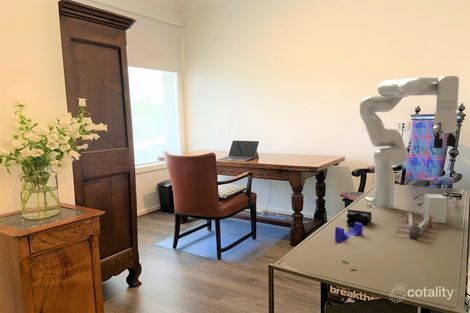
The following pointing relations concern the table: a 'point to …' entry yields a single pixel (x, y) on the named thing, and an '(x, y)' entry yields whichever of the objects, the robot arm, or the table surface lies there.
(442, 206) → the supplement box
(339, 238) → the blue cradle stand
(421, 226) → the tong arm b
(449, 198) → the eyeglasses
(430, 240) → the tong board
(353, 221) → the end cap
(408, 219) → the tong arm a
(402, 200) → the table surface
